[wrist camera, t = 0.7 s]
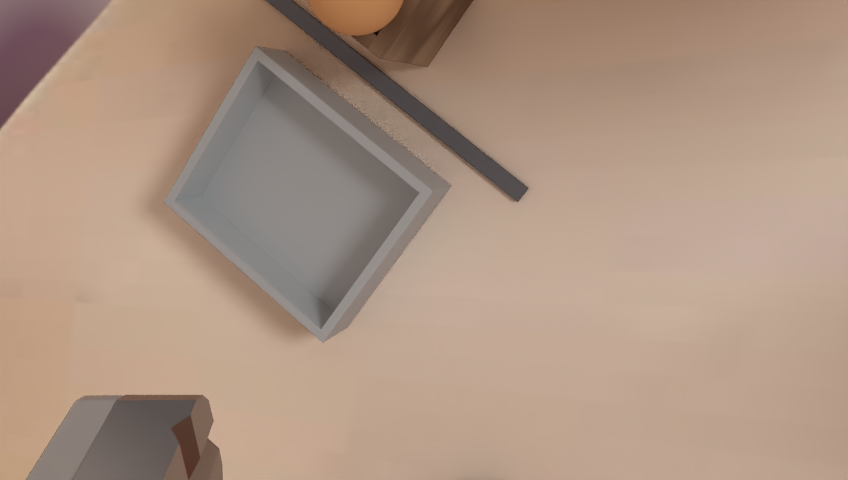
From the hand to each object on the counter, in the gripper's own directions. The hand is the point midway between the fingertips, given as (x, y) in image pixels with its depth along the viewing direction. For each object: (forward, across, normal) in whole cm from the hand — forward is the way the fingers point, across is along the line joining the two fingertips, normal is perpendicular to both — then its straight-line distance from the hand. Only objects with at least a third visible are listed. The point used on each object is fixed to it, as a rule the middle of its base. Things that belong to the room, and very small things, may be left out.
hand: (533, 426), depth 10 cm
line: (+40, +4, +7) cm, 41 cm away
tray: (+40, +9, +14) cm, 43 cm away
